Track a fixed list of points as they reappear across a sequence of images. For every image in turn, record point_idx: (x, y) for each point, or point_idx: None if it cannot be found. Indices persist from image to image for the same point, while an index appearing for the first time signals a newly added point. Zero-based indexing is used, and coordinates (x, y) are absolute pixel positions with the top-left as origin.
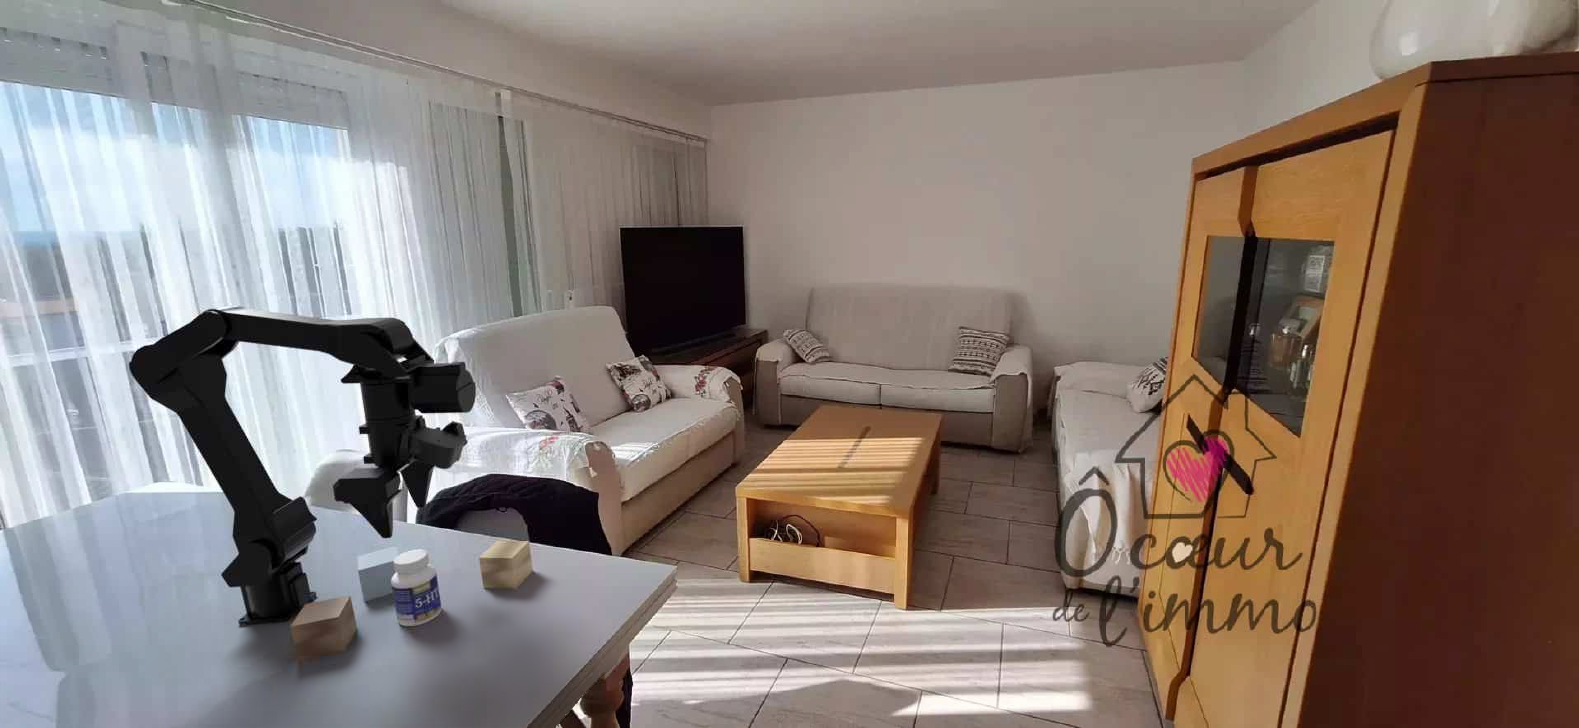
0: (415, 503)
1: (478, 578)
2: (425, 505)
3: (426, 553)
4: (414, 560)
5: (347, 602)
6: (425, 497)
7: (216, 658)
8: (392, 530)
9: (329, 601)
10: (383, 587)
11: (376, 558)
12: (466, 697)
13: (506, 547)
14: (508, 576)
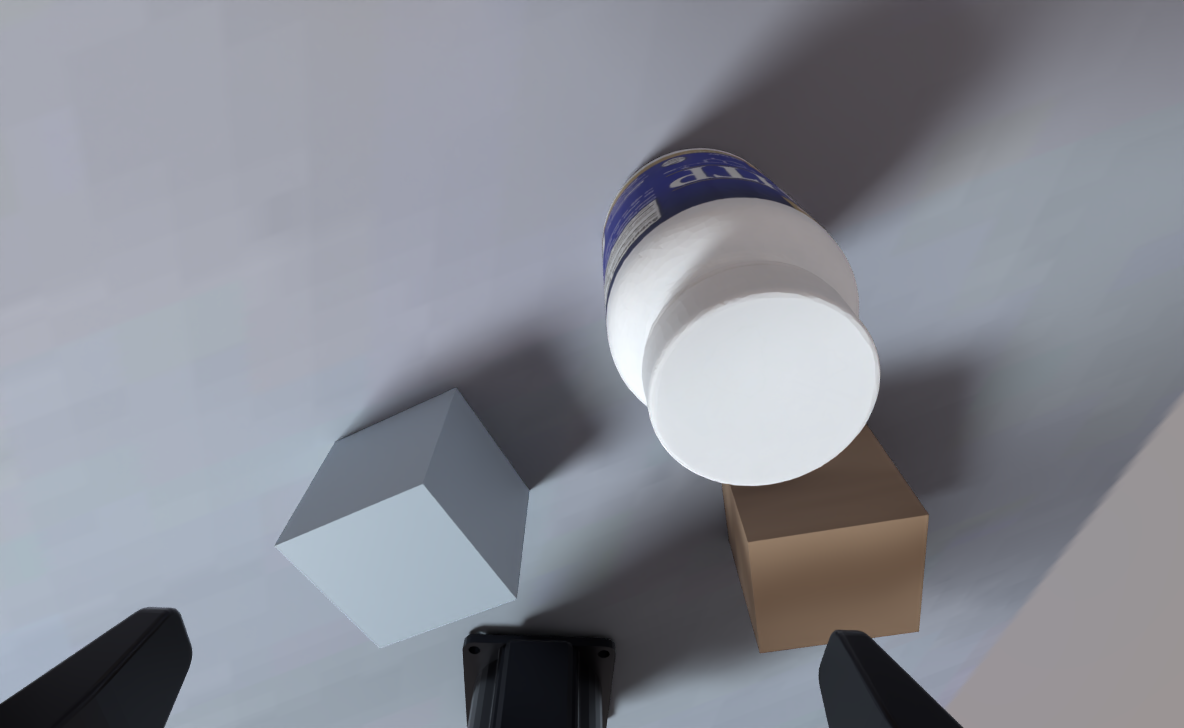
0: (170, 708)
1: (370, 54)
2: (145, 612)
3: (754, 299)
4: (848, 346)
5: (796, 530)
6: (78, 697)
7: (755, 694)
8: (874, 677)
9: (773, 591)
10: (489, 463)
11: (406, 576)
12: None
13: None
14: None
